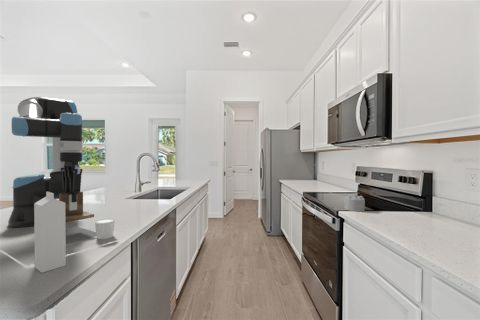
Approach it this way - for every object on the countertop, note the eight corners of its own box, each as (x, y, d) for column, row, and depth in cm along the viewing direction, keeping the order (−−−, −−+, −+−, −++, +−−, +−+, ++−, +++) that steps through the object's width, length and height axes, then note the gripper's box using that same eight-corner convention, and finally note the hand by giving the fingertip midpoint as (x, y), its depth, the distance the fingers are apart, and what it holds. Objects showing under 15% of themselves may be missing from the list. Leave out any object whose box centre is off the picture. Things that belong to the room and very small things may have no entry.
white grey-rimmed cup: (106, 241, 97) (106, 223, 97) (90, 240, 98) (90, 222, 98) (118, 236, 103) (118, 219, 103) (103, 235, 105) (103, 218, 105)
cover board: (47, 218, 102) (47, 193, 101) (79, 212, 112) (79, 189, 112) (61, 223, 95) (61, 196, 95) (94, 217, 105) (94, 192, 105)
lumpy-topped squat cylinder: (358, 207, 165) (359, 194, 165) (368, 211, 152) (368, 197, 152) (342, 207, 165) (342, 194, 165) (351, 211, 152) (351, 197, 152)
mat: (40, 236, 103) (40, 234, 103) (78, 228, 115) (78, 226, 115) (63, 245, 92) (63, 244, 92) (102, 235, 104) (102, 234, 104)
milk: (58, 261, 79) (58, 190, 79) (65, 266, 75) (66, 192, 75) (33, 267, 74) (34, 192, 74) (40, 273, 71) (40, 194, 70)
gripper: (52, 151, 104) (52, 208, 104) (69, 152, 95) (69, 214, 96) (72, 151, 110) (72, 205, 111) (90, 152, 102) (90, 210, 102)
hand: (71, 209), depth 103 cm, fingers closed on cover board, 2 cm apart
